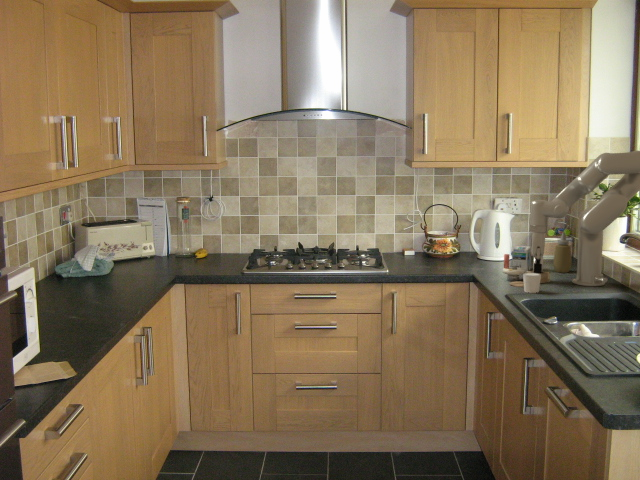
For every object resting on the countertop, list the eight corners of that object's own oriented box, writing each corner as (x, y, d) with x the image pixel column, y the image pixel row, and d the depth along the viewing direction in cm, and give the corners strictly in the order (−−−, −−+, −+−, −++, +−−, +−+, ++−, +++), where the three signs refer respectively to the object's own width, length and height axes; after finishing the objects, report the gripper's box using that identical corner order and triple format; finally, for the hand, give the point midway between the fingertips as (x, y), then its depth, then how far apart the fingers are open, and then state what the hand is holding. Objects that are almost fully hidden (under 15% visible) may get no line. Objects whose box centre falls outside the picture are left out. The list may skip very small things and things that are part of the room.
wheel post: (521, 280, 308) (522, 273, 308) (513, 281, 306) (513, 274, 305) (513, 278, 312) (513, 271, 312) (504, 279, 310) (505, 273, 310)
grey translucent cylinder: (543, 281, 305) (544, 256, 304) (537, 282, 304) (538, 257, 302) (537, 280, 309) (538, 254, 307) (530, 281, 307) (531, 255, 305)
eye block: (549, 281, 305) (549, 272, 304) (537, 283, 302) (537, 274, 301) (537, 279, 311) (537, 270, 310) (525, 280, 308) (525, 271, 307)
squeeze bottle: (572, 273, 322) (574, 234, 319) (553, 273, 323) (555, 233, 321) (570, 270, 330) (571, 231, 327) (551, 269, 331) (553, 231, 329)
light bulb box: (527, 273, 325) (528, 249, 323) (512, 272, 328) (512, 248, 326) (531, 268, 334) (531, 246, 333) (516, 268, 337) (516, 245, 336)
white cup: (531, 288, 292) (532, 271, 291) (544, 291, 286) (544, 274, 285) (518, 290, 289) (519, 273, 288) (531, 293, 283) (531, 276, 282)
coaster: (537, 285, 298) (537, 284, 297) (520, 288, 293) (520, 286, 293) (521, 281, 305) (521, 280, 305) (505, 284, 301) (505, 282, 301)
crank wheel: (519, 275, 302) (519, 257, 301) (499, 273, 308) (499, 255, 307) (527, 272, 309) (528, 254, 308) (508, 269, 315) (508, 252, 314)
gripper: (530, 226, 312) (528, 268, 315) (529, 231, 296) (528, 275, 299) (548, 227, 310) (546, 268, 312) (548, 232, 294) (547, 276, 297)
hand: (537, 271), depth 306 cm, fingers closed on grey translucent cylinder, 3 cm apart
